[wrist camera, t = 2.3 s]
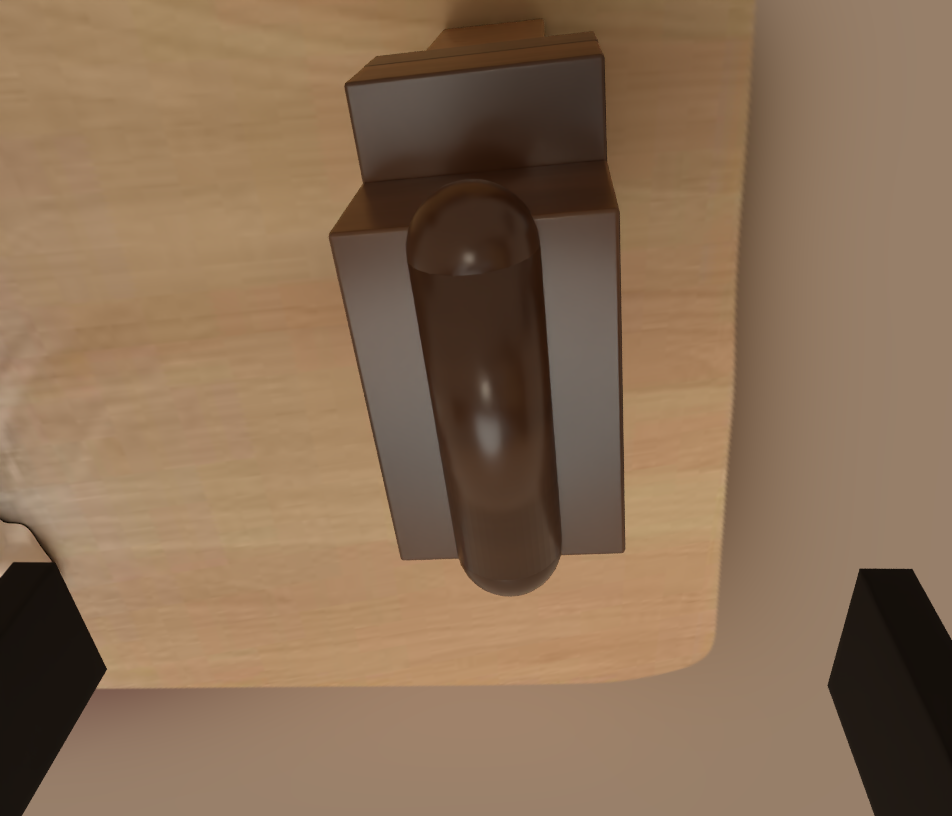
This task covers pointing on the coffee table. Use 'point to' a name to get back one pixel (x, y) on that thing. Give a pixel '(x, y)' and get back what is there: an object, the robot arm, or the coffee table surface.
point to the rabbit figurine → (18, 546)
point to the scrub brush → (489, 303)
